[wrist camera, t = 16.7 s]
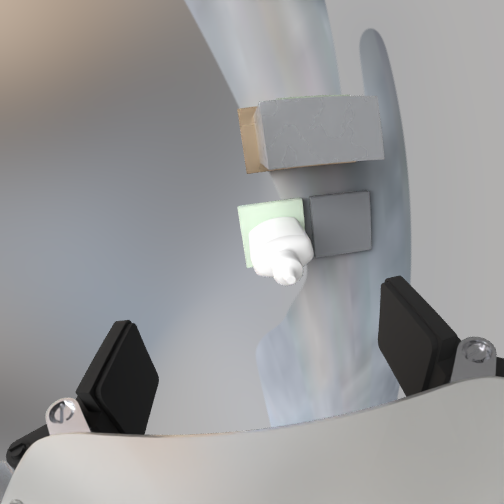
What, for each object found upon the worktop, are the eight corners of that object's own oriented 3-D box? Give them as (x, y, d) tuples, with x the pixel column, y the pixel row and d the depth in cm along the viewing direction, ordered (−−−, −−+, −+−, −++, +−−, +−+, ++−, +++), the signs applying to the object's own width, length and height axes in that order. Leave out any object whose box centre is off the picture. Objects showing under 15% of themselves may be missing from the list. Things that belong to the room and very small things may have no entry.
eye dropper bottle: (252, 209, 33) (259, 246, 22) (303, 218, 33) (334, 258, 22) (245, 247, 34) (248, 300, 23) (294, 255, 35) (318, 309, 24)
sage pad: (237, 206, 34) (237, 207, 33) (300, 197, 34) (302, 199, 33) (246, 264, 36) (247, 268, 35) (305, 256, 36) (307, 259, 35)
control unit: (237, 110, 30) (236, 91, 19) (344, 101, 30) (391, 84, 19) (246, 173, 33) (249, 186, 22) (352, 161, 32) (401, 170, 21)
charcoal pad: (308, 196, 34) (310, 198, 33) (366, 190, 34) (369, 191, 33) (314, 255, 36) (315, 257, 35) (368, 246, 36) (371, 249, 35)
